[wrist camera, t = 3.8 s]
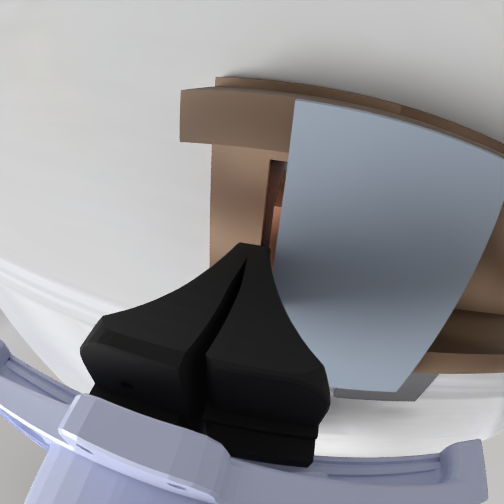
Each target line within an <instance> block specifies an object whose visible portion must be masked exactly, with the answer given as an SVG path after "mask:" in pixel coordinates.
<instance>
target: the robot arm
mask: <svg viewBox="0 0 504 504" xmlns="http://www.w3.org/2000/svg"><path fill="white" fill-rule="evenodd" d="M270 254H271V249H270V248H269V247H266V246H260V245H254V244H248V243H242V242H239V243H238V244H236V245H235V246H234V247H233V248H232V249H231V250H230V251H229V252H228V253H227V254H226V255H224V256H223V257H222V258H221V259H220V260H219V261H217V262H216V263H215V264H214V265H213V266H211V267H210V268H209V269H208V270H206V271H205V272H203V273H202V274H201V275H199V276H198V277H197V278H195V279H194V280H192V281H191V282H189V283H188V284H186V285H184V286H182V287H181V288H179V289H177V290H175V291H173V292H171V293H169V294H167V295H165V296H163V297H160V298H158V299H156V300H154V301H151V302H149V303H146V304H143V305H140V306H138V307H135V308H132V309H128V310H125V311H121V312H117V313H113V314H109V315H105V316H102V318H101V319H100V320H99V321H98V322H97V324H96V325H95V326H94V328H93V329H92V331H91V332H90V334H89V335H88V337H87V338H86V340H85V341H84V343H83V344H82V346H81V347H80V355H81V358H82V360H83V363H84V364H85V366H86V368H87V370H88V372H89V373H90V375H91V377H92V379H93V380H94V382H95V385H94V386H93V388H92V390H91V392H90V394H82V393H80V392H78V391H76V390H74V389H72V388H70V387H68V386H66V385H64V384H62V383H60V382H58V381H56V380H54V379H52V378H51V377H49V376H47V375H45V374H43V373H41V372H40V371H38V370H36V369H35V368H33V367H31V366H30V365H28V364H26V363H25V362H23V361H21V360H20V359H18V358H16V357H15V356H13V355H12V354H11V352H10V350H9V349H8V347H7V346H6V344H5V343H4V342H3V341H2V340H1V339H0V415H1V416H2V417H3V418H4V419H6V420H7V421H8V422H9V423H11V424H12V425H13V426H14V427H16V428H17V429H18V430H19V431H21V432H22V433H23V434H25V435H26V436H28V437H29V438H30V439H31V440H33V441H34V442H35V443H37V444H38V445H40V446H41V447H43V448H44V449H46V450H47V451H48V453H47V455H46V457H45V459H44V461H43V463H42V465H41V467H40V469H39V471H38V473H37V475H36V478H35V480H34V482H33V484H32V486H31V488H30V490H29V493H28V495H27V497H26V499H25V502H24V504H480V503H482V502H484V501H486V500H487V499H488V489H487V479H486V470H485V463H484V456H483V449H482V443H481V440H480V439H476V440H470V441H464V442H458V443H455V444H452V445H450V446H448V447H447V448H445V449H444V450H443V451H442V452H441V453H437V454H428V455H417V456H404V457H381V458H351V457H328V456H314V449H315V439H317V437H318V428H319V424H320V422H321V421H322V419H323V418H324V416H325V415H326V413H327V411H328V409H329V406H330V390H329V383H328V378H327V374H326V370H325V367H324V365H323V364H322V363H321V362H320V361H319V359H318V358H317V357H316V356H315V355H314V354H313V352H312V351H311V350H310V349H309V347H308V346H307V345H306V343H305V342H304V341H303V339H302V338H301V336H300V335H299V333H298V331H297V330H296V328H295V327H294V325H293V323H292V322H291V320H290V318H289V316H288V314H287V312H286V310H285V308H284V306H283V304H282V301H281V299H280V296H279V293H278V290H277V288H276V284H275V281H274V277H273V273H272V268H271V261H270Z"/></svg>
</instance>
